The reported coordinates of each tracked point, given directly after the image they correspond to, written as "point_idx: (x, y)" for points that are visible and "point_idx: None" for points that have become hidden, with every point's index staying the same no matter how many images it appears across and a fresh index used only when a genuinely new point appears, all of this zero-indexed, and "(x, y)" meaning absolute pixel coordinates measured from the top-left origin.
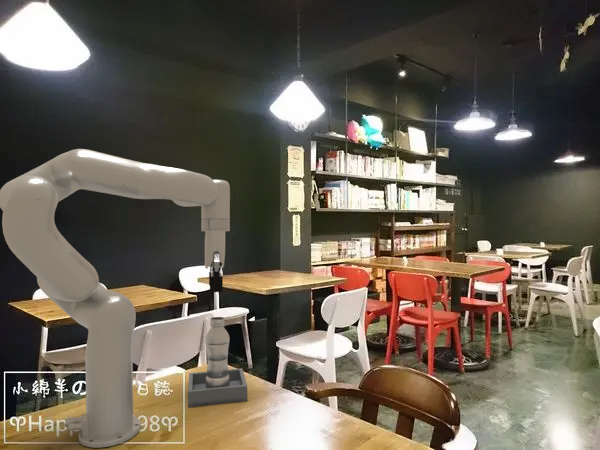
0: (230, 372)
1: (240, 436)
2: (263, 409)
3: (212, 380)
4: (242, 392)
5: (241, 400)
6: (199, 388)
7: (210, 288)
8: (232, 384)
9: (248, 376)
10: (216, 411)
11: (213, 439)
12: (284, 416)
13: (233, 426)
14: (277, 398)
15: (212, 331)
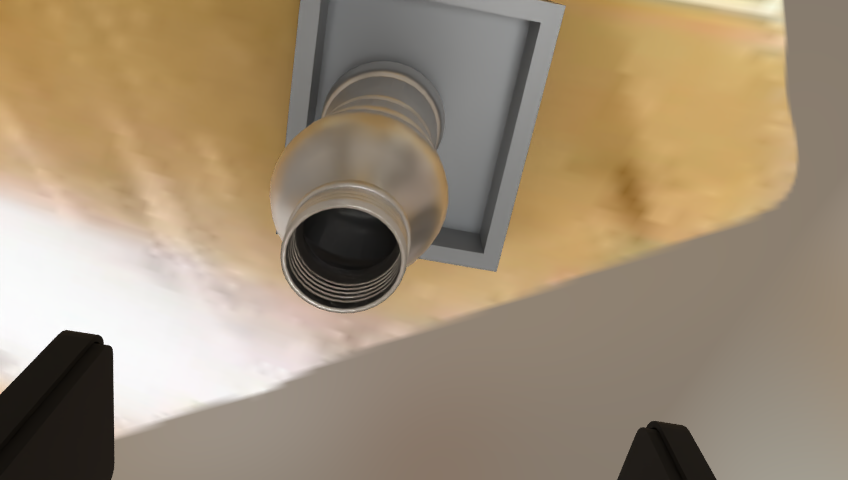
0: (492, 211)
1: (11, 106)
2: (198, 242)
3: (334, 93)
4: None
5: None
6: (467, 40)
7: (36, 364)
8: None
9: (537, 283)
10: (239, 69)
11: (8, 4)
12: (123, 289)
13: (92, 102)
14: (273, 315)
15: (313, 176)
